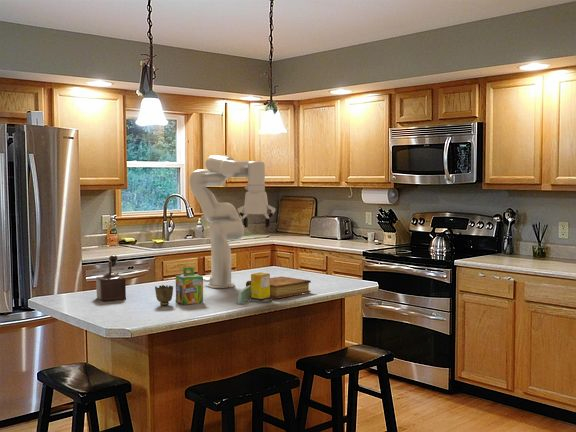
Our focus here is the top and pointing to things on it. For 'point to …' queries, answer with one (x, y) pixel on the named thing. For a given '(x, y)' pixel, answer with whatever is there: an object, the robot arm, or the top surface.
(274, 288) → the diary
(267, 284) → the supplement box
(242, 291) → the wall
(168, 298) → the cup
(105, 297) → the coffee grinder
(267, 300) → the coaster
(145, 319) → the top surface
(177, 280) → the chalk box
